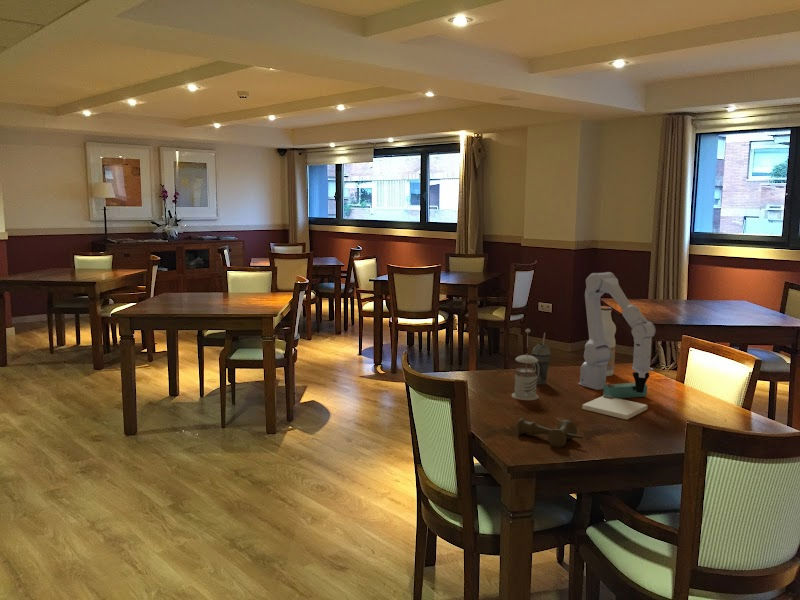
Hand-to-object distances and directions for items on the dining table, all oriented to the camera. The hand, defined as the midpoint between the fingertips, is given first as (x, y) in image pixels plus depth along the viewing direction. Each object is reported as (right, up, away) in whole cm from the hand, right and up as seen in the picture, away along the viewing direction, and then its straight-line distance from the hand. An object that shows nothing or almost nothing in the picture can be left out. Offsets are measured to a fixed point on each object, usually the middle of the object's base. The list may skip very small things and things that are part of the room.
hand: (639, 392), depth 240 cm
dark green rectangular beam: (-4, -2, +3) cm, 5 cm away
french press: (-40, -2, +3) cm, 40 cm away
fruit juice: (-3, +3, +36) cm, 36 cm away
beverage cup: (-32, +1, +20) cm, 38 cm away
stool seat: (-13, -4, -12) cm, 18 cm away
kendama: (-42, -9, -42) cm, 60 cm away
